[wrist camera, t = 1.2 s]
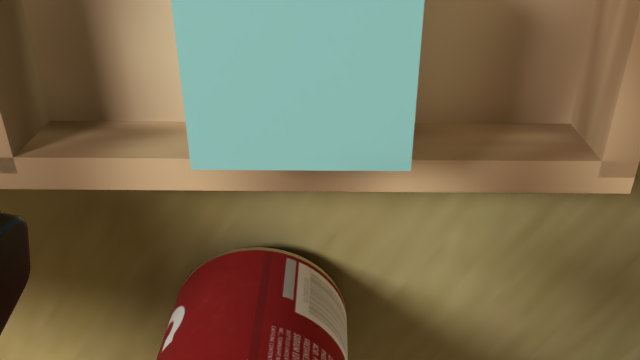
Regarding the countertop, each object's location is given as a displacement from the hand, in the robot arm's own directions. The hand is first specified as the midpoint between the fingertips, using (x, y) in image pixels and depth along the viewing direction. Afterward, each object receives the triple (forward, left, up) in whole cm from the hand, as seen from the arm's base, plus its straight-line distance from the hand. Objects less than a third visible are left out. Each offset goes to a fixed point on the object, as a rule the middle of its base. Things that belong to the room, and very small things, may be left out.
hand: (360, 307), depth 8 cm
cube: (-1, +1, -11) cm, 11 cm away
